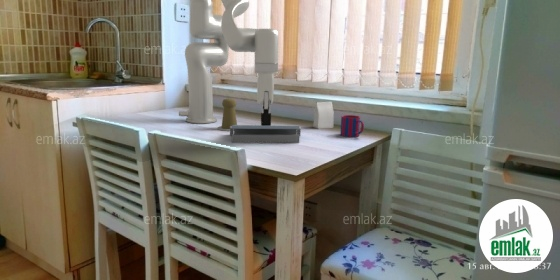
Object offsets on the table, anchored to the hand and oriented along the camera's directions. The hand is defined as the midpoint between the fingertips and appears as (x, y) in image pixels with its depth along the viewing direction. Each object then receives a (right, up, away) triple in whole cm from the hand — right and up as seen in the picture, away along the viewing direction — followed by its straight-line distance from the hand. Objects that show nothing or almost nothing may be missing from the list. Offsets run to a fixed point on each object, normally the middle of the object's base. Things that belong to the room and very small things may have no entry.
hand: (265, 125), depth 136 cm
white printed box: (+22, 0, +27) cm, 34 cm away
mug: (+30, -4, +11) cm, 33 cm away
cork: (-15, 0, +21) cm, 26 cm away
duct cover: (0, -1, +4) cm, 4 cm away
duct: (0, -4, +5) cm, 7 cm away
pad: (-14, 0, +21) cm, 25 cm away
